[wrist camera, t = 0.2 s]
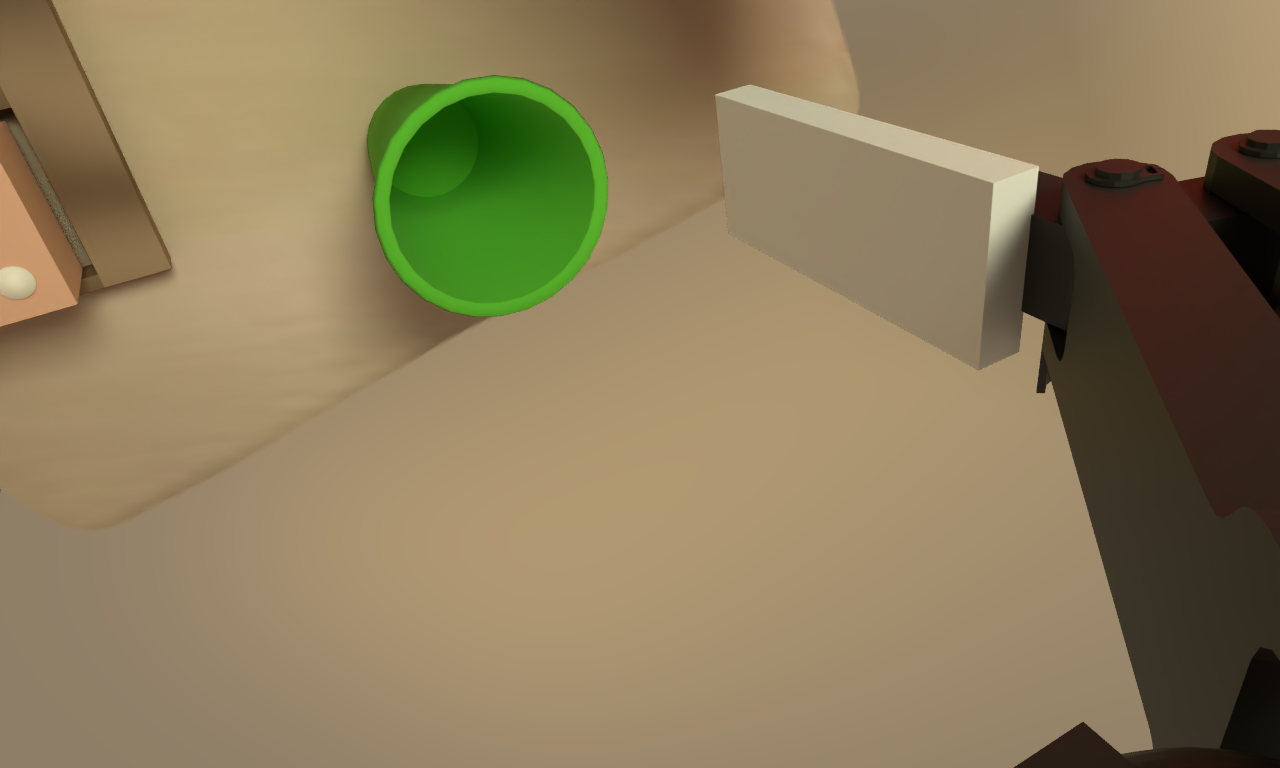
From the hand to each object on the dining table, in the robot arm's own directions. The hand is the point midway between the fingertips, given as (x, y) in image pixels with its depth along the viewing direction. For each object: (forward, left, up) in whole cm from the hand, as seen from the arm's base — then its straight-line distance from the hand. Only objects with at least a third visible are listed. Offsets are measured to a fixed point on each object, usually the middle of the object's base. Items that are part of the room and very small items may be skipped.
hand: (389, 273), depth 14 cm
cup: (+5, +6, -28) cm, 29 cm away
